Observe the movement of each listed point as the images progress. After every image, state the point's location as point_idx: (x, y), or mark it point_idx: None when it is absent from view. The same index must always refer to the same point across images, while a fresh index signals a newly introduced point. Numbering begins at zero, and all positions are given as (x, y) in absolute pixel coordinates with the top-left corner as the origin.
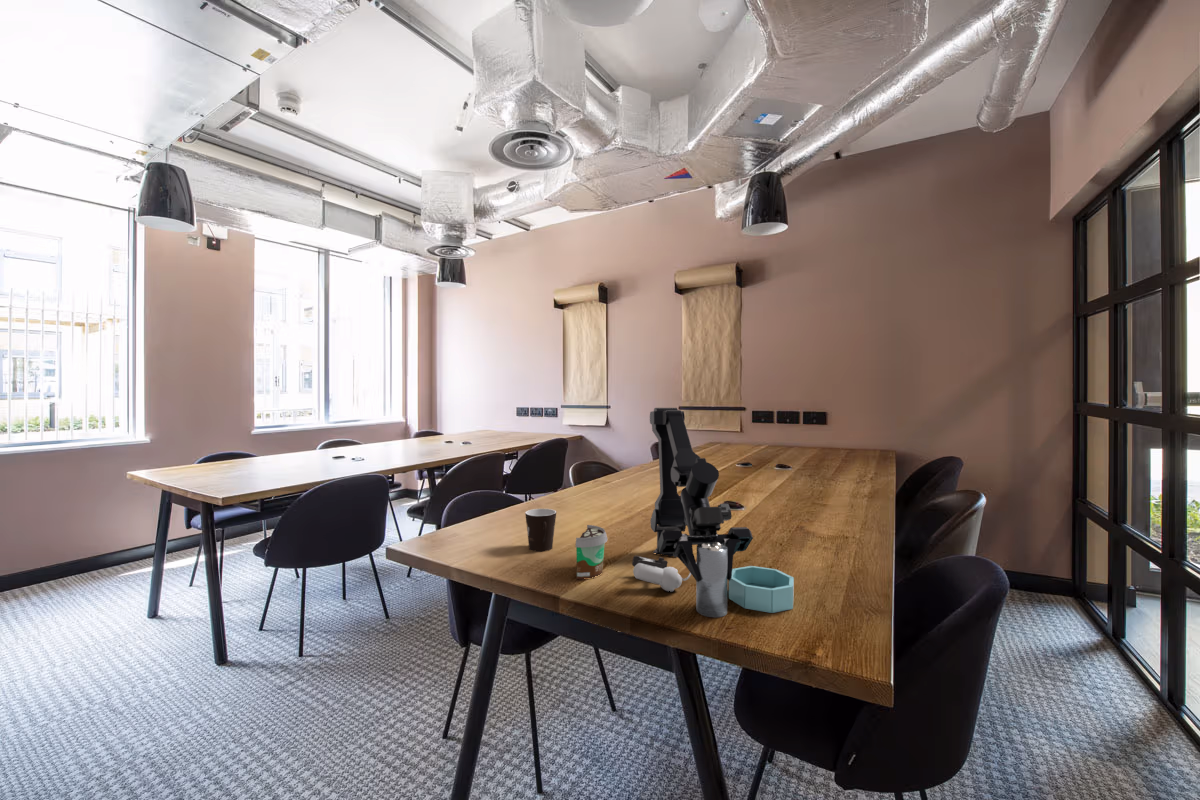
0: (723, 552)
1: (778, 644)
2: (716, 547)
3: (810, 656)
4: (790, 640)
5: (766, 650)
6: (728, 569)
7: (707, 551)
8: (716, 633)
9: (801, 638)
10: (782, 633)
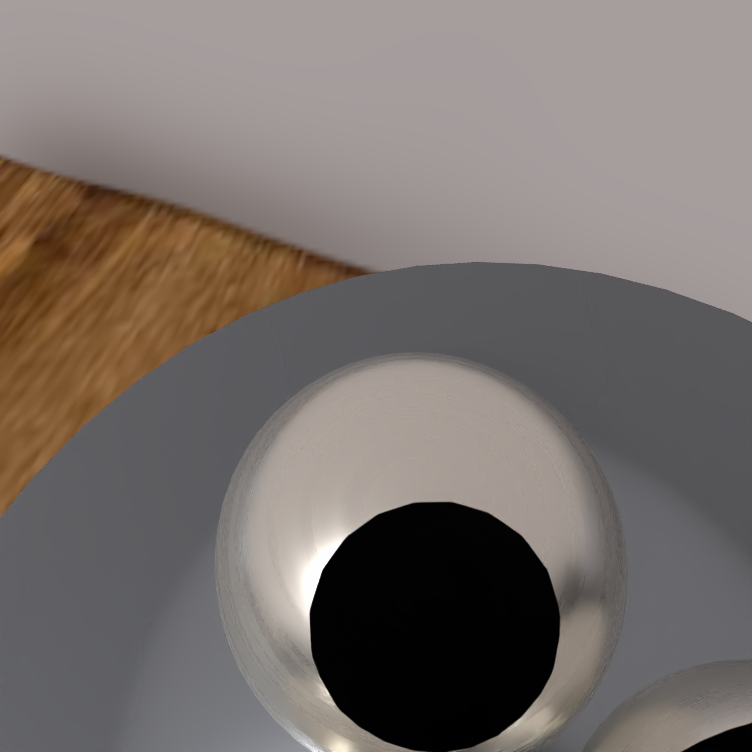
0: (177, 380)
1: (151, 290)
2: (354, 395)
3: (65, 225)
4: (76, 331)
5: (225, 239)
6: None
7: (658, 290)
8: None
9: (12, 356)
10: (79, 392)
